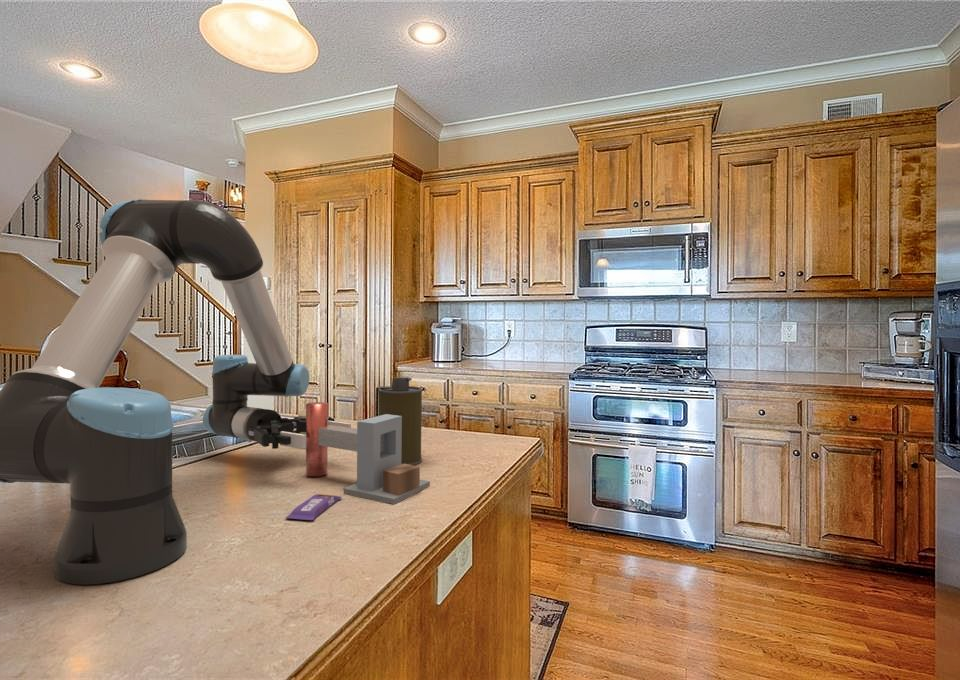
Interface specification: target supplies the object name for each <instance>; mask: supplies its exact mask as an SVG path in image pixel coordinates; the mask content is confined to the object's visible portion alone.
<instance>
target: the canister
mask: <svg viewBox="0 0 960 680" xmlns="http://www.w3.org/2000/svg"><path fill="white" fill-rule="evenodd" d="M411 381H413V379H412V377H409V376H408V377H406V376H404V377H403V376H396V377H394V378H392V381H391V385H389V386H384V385H383V386H377V387H376V388H375V417H377V416H381V415H385V414H389V415H398V416H402V450H401V464H409V465H413V466H418V465H419V464H420V463H422V461H423V459H422V408H423V407H422V405H423V404H422V402H423V401H422V399H423V398H422V397H423V395H422V394H423V387H420V386H413V385H410V382H411Z"/></svg>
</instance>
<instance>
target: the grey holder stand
mask: <svg viewBox="0 0 960 680" xmlns="http://www.w3.org/2000/svg"><path fill="white" fill-rule="evenodd" d="M356 422H357V424H356V425H357V426H356V427H357V428H356V429H357V452H356V483H353V484H351V485H349V486H346V487H344V488H343V494H345V495H349V496H353V497H358V498H364V499H366V500H372V501H377V502H381V503H387V504H390V505H396V504H397V503H400V502H401V501H404V500H405V499H407V498H410V497H412V496H413V495H415V494H417V493H419V492H421V491H423V490H425V489H427V488H428V487H430V485H431V483H430V482H431V481H430V480H426V479H420V484H419V487H418V488H416V489H413V490H411V491H408V492H406V493H403V494H401V495H395V494H391V493H388V492H384V491H383V470H386V469H389V468H392V467H395V466H398V465H401V450H402V416H398V415H389V414H385V415H381V416H379V415H378V416H377V417H376V416H374V417H373V416H372V417H369V418H366V419H361V420H357V421H356ZM384 433H385V450H384V451H382V452H380V435H381V434H384Z"/></svg>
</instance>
